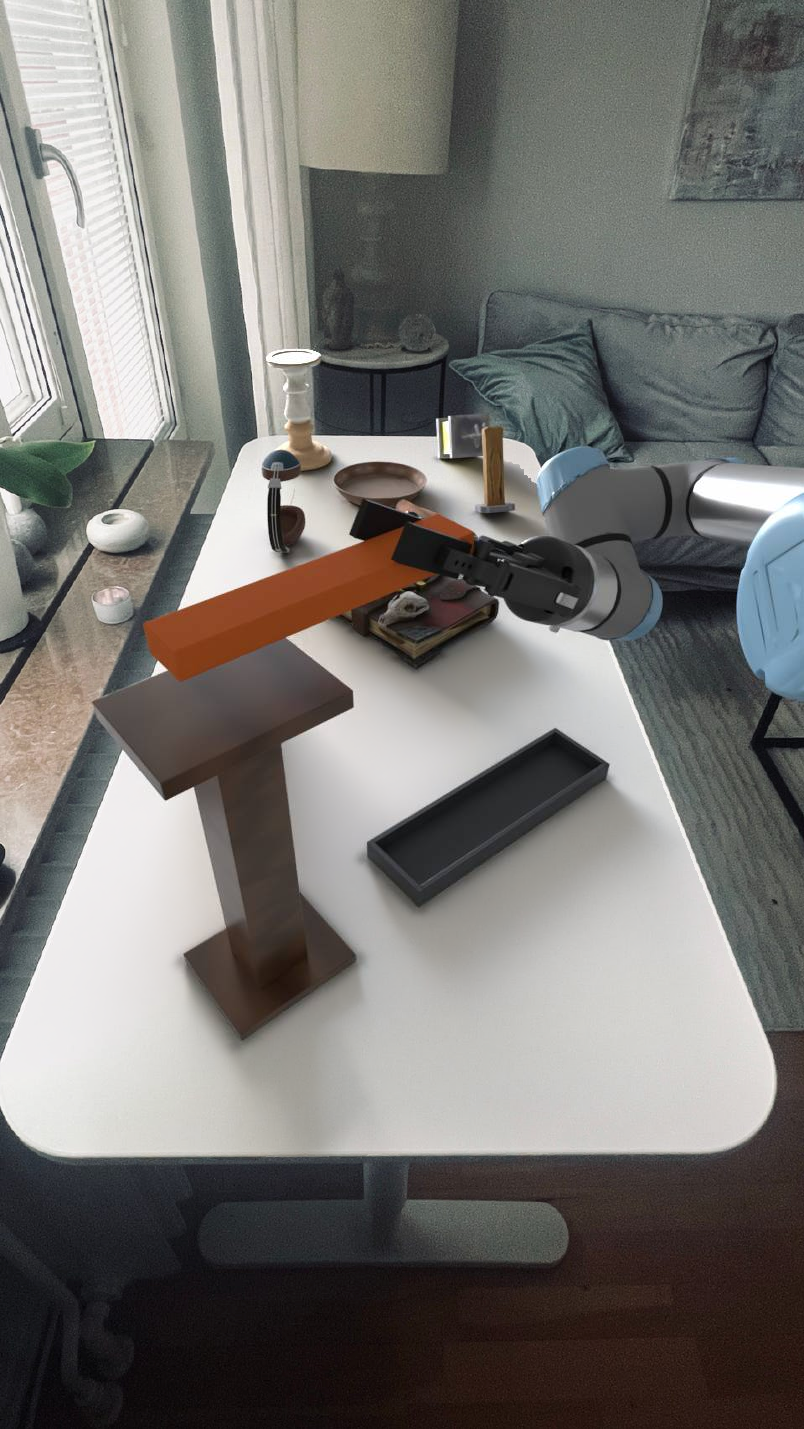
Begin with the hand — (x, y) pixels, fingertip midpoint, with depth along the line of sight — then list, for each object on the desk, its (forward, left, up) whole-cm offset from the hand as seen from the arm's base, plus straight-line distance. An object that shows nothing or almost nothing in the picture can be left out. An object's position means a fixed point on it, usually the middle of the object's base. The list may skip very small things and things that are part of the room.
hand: (380, 530), depth 54 cm
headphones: (+73, +25, -38) cm, 86 cm away
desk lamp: (+99, -6, -38) cm, 106 cm away
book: (+51, +4, -38) cm, 64 cm away
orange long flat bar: (-3, +3, -4) cm, 6 cm away
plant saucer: (+93, +12, -38) cm, 101 cm away
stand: (-9, +10, -38) cm, 41 cm away
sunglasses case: (+75, +2, -38) cm, 84 cm away
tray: (+11, -10, -38) cm, 41 cm away
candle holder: (+108, +30, -38) cm, 118 cm away
